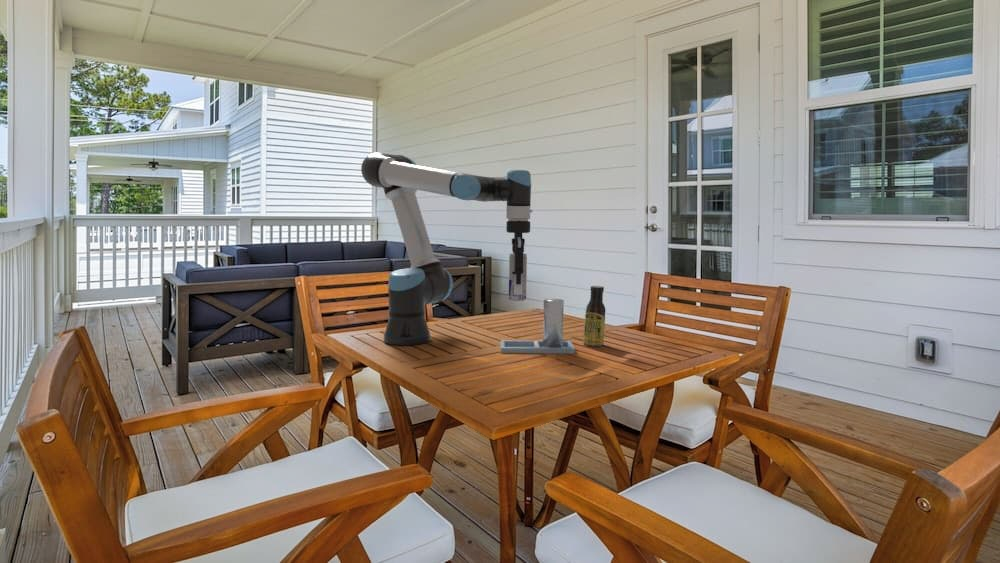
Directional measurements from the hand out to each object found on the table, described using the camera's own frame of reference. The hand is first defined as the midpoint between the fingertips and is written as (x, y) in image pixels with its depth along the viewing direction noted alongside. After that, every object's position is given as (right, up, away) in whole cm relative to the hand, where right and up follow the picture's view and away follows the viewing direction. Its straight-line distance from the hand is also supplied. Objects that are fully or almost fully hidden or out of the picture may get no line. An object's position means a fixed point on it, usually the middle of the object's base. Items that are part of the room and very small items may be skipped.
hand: (517, 292), depth 174 cm
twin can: (+11, -17, -8) cm, 22 cm away
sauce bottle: (+24, -18, -2) cm, 30 cm away
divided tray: (+6, -18, -8) cm, 21 cm away
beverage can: (0, -3, 0) cm, 3 cm away
